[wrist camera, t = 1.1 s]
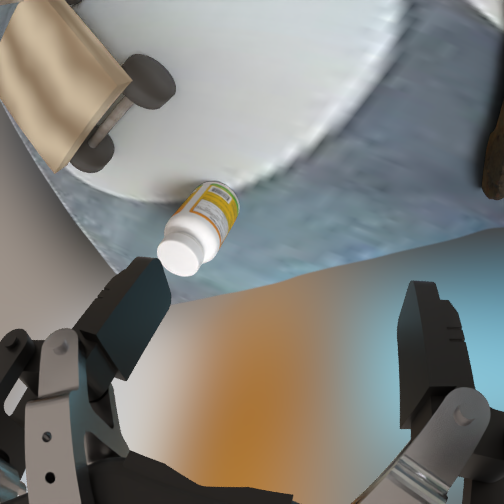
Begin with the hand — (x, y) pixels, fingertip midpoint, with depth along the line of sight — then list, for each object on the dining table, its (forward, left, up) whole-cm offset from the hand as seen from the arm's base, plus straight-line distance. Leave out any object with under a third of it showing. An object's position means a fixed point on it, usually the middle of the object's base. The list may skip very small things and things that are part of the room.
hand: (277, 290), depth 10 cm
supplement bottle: (+14, +2, -21) cm, 25 cm away
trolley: (+15, -20, -21) cm, 33 cm away
